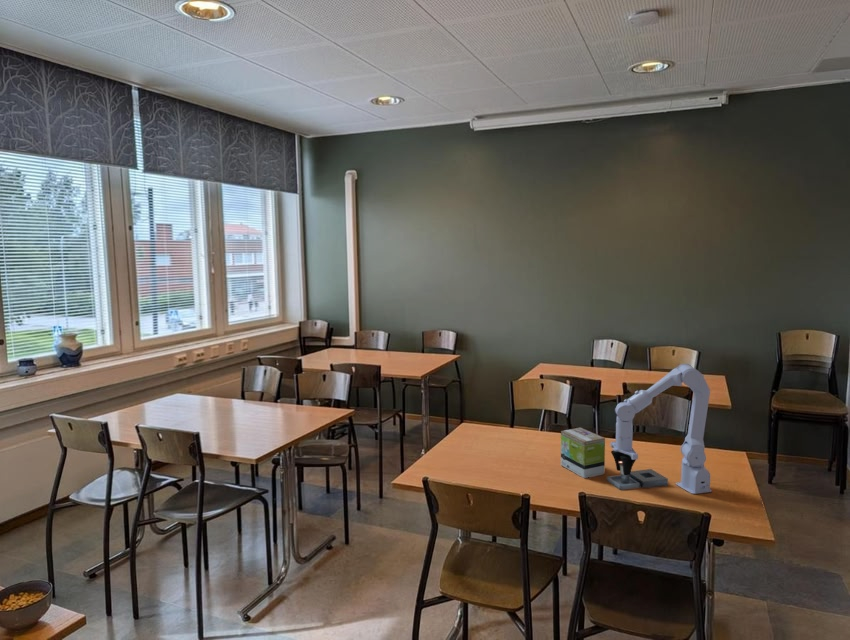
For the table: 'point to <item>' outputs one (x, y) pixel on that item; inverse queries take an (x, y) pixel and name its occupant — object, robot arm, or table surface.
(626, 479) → the pin
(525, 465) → the table surface
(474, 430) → the table surface
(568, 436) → the tea box
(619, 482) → the tray
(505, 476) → the table surface
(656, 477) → the hitch block
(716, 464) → the table surface
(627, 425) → the robot arm
